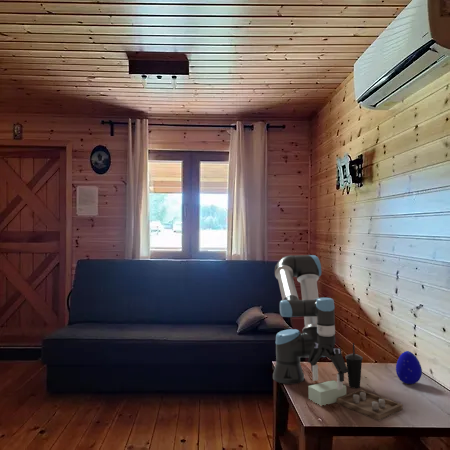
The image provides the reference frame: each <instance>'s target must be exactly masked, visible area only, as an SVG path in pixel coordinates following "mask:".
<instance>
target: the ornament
mask: <svg viewBox="0 0 450 450" xmlns="http://www.w3.org/2000/svg"><path fill="white" fill-rule="evenodd" d="M422 369H423V368H422V366H421V362H420V360H419V359H418V357H417V356H416V355H415V354H414V353H413V352H411V351H409V350H406V351H404V352H402V353H400V355H399V357H398V359H397V360H396V364H395V372H396V376H397V377H398V379H399V380H400V382H402V383H404V384H407V385H414V384H416V383H418V382H419V381H420V380H421V377H422V374H423V370H422Z"/></svg>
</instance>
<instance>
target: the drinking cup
mask: <svg viewBox="0 0 450 450" xmlns="http://www.w3.org/2000/svg"><path fill="white" fill-rule="evenodd" d="M345 360H346V361H345V364H346V367H347V369H348V372H347V379H348V387H349V388H351V389H360V388H361V379H362V375H361V374H362V364H363V363H362V362H363V356H362V355H359V354H358V353H355V342H353V343H352V353H350V354H346V355H345Z"/></svg>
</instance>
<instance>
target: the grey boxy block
mask: <svg viewBox="0 0 450 450" xmlns="http://www.w3.org/2000/svg"><path fill="white" fill-rule="evenodd" d="M307 387H308V390H307V393H308V400H309V399H310V400H309V401H311V400H312V401H313V402H312V401H311V402H312V403H314V402H315V403H314V404H316V403H317V404H316V405H318V404H319V405H321V406H320V407H323V406H322V405H324V406H327V405H326V404H328V405H331V404H334V403H335V404H336V403H337V398H339V397H342V396H344V395H347V385H345V384H343V389H340V390H338V389H337V380H334V379H333V380H328V381H327V380H326V381H324V382H319V383H316V384H315V383H314V384H311V385H307ZM319 405H318V406H319Z"/></svg>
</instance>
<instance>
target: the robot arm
mask: <svg viewBox="0 0 450 450" xmlns="http://www.w3.org/2000/svg"><path fill="white" fill-rule="evenodd" d="M321 276H322V264H321V261H320V258H319V257H318V255H317V256H316V255H314V254H304V255H301V254H300V255H285V256H283V257H282V258H281V259H280V260H278V261H277V263H276V264H275V266H274V277H275V278H276V280H277V281H278V286H279V291H280V294H281V295H280V296H281V300H280V301H279V314H280V316H281V317H283V318H299V317H303V319H304V320H303V321H304V327H303V328H302V331H300V330H299V329H296V328H294V329H293V328H290V329H284V330H280V331H279V332H277V333H276V335H275V343H274V344H275V356H276V357H275V358H276V359H275V362H276V363H275V366H274V369H273V370H274V371H273V373H272V380H273V381H275V382H276V383H279V384H284V385H296V384H300V383H303V382H304V381H305V374H304V371H303V368H302V365H301V359H302V358H307V363H309V364H310V365H311V373H312V381H313V382H315V381H318V380H319V365H318V364H317V363H318V362H319V361H320V359H322V358H328V359H330V361H331V362H332V365H333V366H334V367H335V369H336V370H337V372H338V373H336V382H337V389H338V390H340V389H343V385H344V381H345V374H348V369H347V363H346V361H345V359H344V356H343V353H342V349H341V348H340V347H339V348H336V347H335V344H336V335H335V334H336V326H335V325H336V323H335V322H336V321H335V320H336V319H335V308H336V307H335V300H334V299H333V298H331V297H319V290H318V280H319V279H320V277H321ZM294 278H296V280H297V282H298V283H300V291H301V299H300V298H299V295H298V292H297V288H296V284H295V281H294Z"/></svg>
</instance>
